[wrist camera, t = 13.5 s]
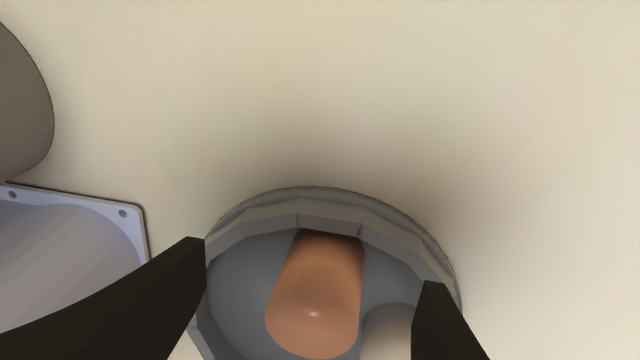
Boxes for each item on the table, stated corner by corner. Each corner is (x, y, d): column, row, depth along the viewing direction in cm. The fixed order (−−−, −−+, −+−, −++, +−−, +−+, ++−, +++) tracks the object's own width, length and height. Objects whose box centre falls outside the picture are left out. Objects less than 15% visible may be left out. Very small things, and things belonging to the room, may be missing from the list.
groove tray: (204, 361, 29) (189, 393, 26) (188, 165, 21) (165, 187, 19) (426, 407, 27) (429, 446, 25) (496, 213, 19) (509, 243, 17)
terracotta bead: (294, 280, 22) (269, 354, 18) (287, 220, 20) (259, 286, 16) (364, 285, 22) (358, 363, 17) (365, 223, 20) (357, 294, 15)
